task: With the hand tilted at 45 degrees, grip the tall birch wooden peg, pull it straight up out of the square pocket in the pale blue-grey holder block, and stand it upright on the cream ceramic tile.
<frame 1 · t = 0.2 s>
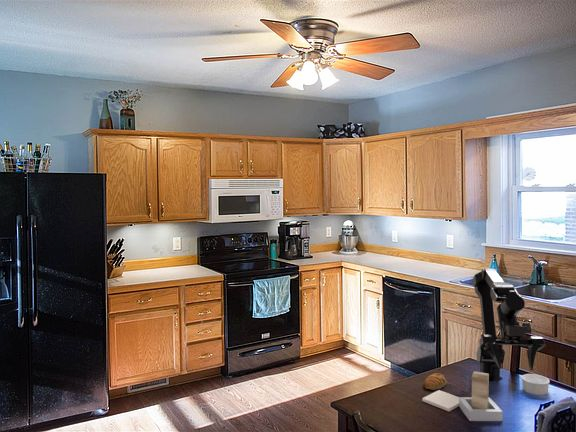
hand: (515, 369, 145), 15 cm above the table, tool tilted 35°, fingers open, 9 cm apart
ramekin: (535, 391, 164), on the table
tile: (443, 401, 156), on the table
holder: (479, 413, 147), on the table
pastry: (435, 386, 169), on the table
peg: (480, 394, 147), in the holder
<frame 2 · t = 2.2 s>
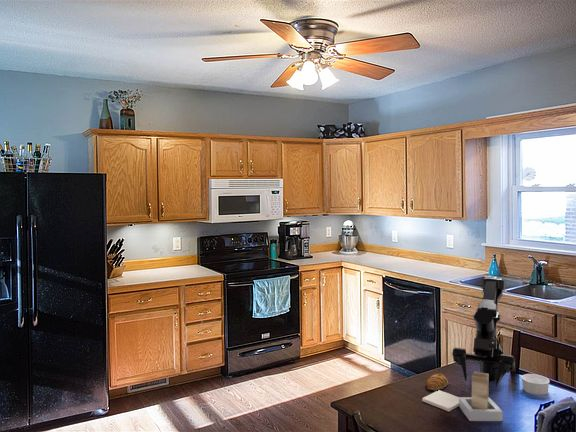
hand: (480, 383, 148), 9 cm above the table, tool tilted 45°, fingers open, 9 cm apart
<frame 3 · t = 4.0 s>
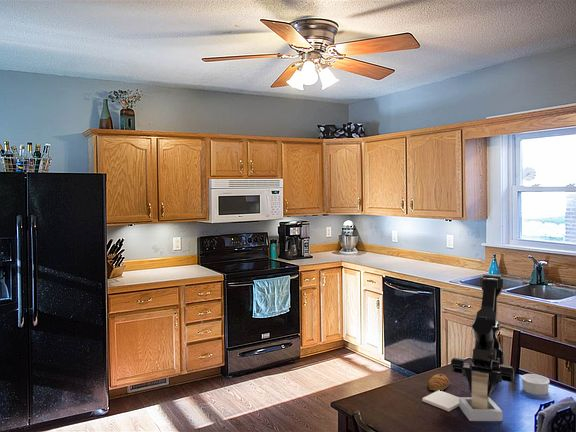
hand: (479, 394, 146), 7 cm above the table, tool tilted 45°, fingers closed on peg, 4 cm apart
peg: (480, 394, 147), in the holder, touching gripper
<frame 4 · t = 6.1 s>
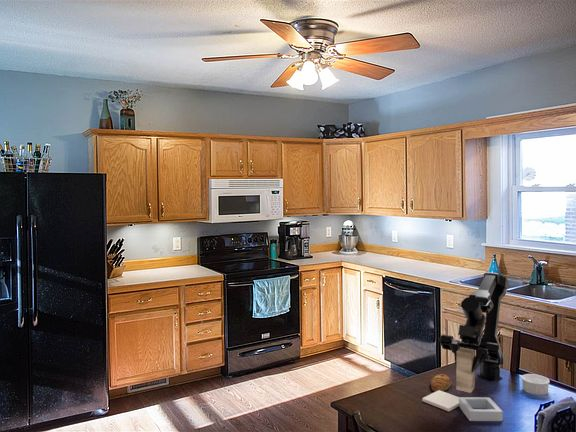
hand: (464, 370, 148), 13 cm above the table, tool tilted 45°, fingers closed on peg, 4 cm apart
peg: (465, 369, 149), point 13 cm above the table, touching gripper
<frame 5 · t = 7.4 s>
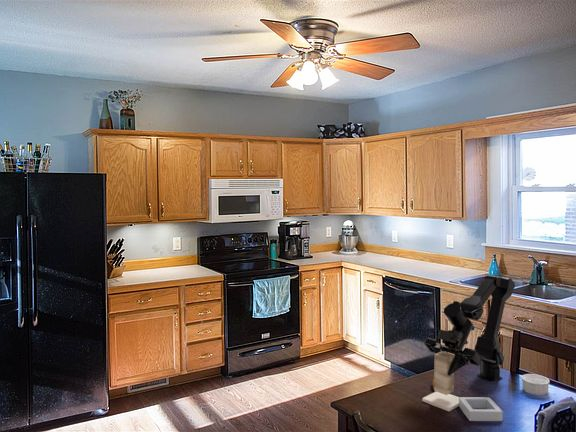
hand: (441, 372, 154), 10 cm above the table, tool tilted 45°, fingers closed on peg, 4 cm apart
peg: (444, 372, 155), point 10 cm above the table, touching gripper
when the fingers open (8 cm above the table, at t = 8.5 s): peg stays where it is, resting on tile.
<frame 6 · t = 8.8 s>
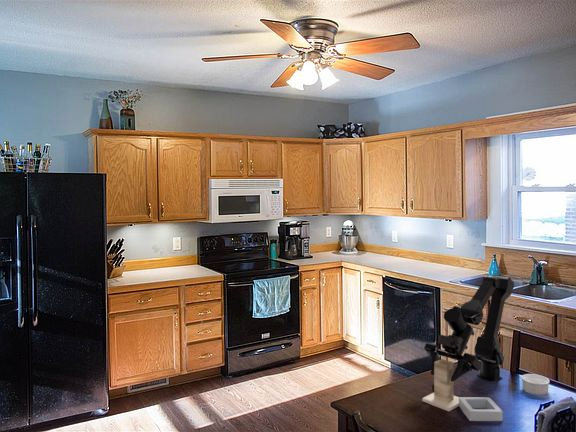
hand: (441, 377, 154), 9 cm above the table, tool tilted 45°, fingers open, 7 cm apart
peg: (443, 380, 155), on the tile, point 7 cm above the table
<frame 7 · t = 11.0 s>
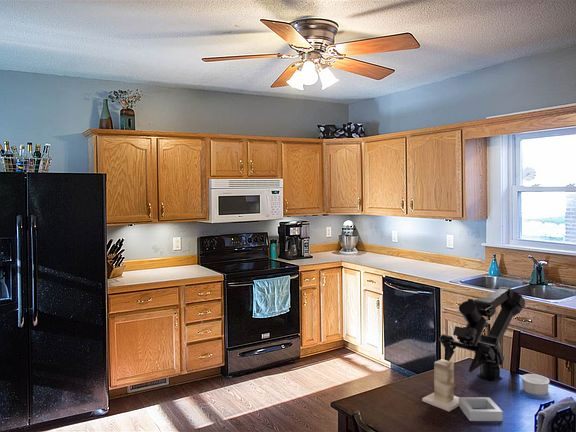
hand: (457, 367, 160), 10 cm above the table, tool tilted 45°, fingers open, 9 cm apart
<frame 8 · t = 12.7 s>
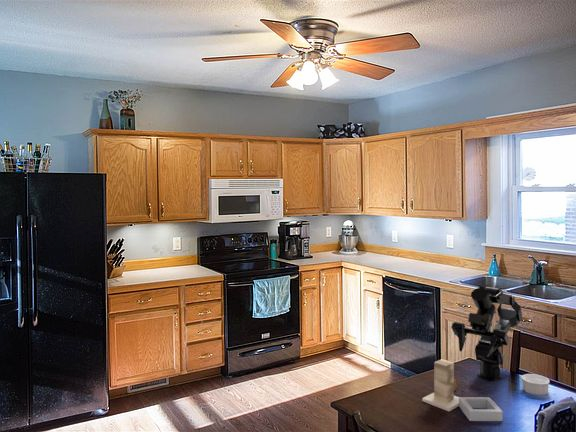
hand: (473, 353, 163), 14 cm above the table, tool tilted 45°, fingers open, 9 cm apart
at the end: peg 0.0 cm off-centre on the tile, point 7.2 cm above the tile's base; peg tilted 0°; the gripper is holding nothing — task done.
